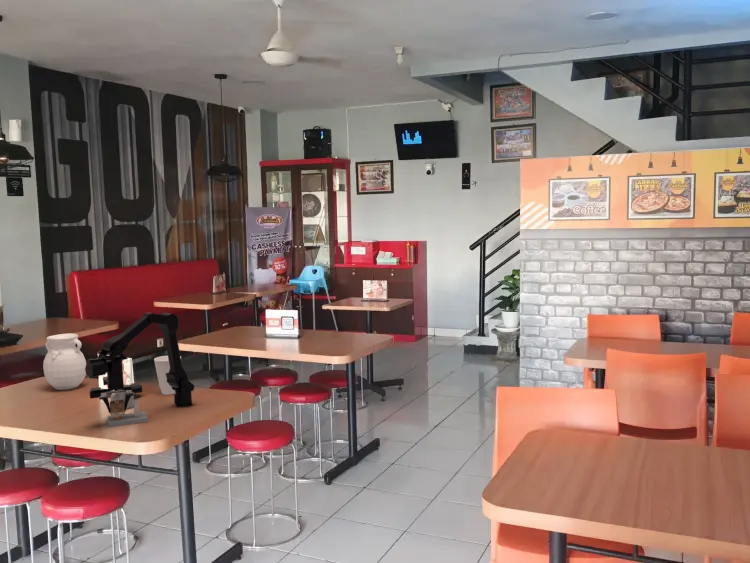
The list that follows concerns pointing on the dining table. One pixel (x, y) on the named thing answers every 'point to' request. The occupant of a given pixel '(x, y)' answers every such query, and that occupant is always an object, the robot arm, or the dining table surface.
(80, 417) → the dining table surface
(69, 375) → the white handled vase
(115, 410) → the sleeve
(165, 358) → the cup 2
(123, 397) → the cup
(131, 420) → the pin board
